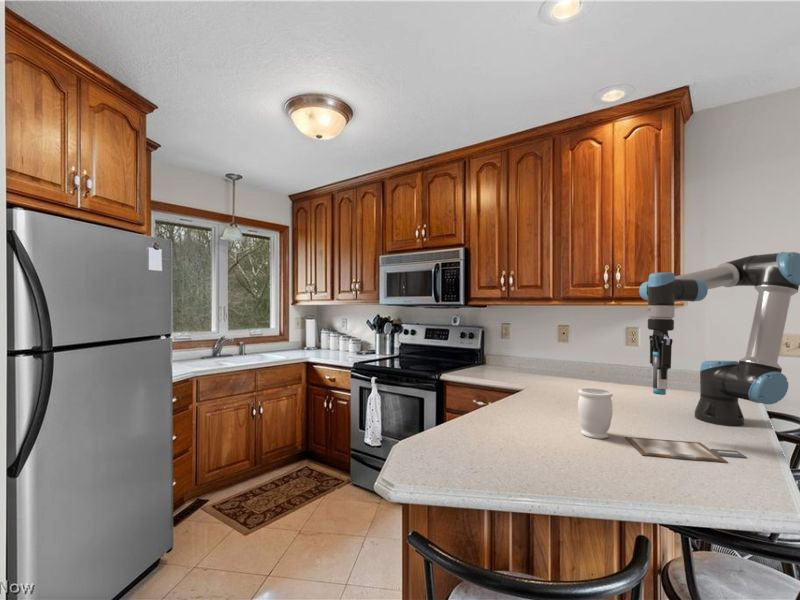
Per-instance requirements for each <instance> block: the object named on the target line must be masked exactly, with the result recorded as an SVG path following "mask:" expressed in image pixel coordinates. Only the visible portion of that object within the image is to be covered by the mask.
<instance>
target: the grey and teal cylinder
mask: <svg viewBox="0 0 800 600" xmlns="http://www.w3.org/2000/svg"><path fill="white" fill-rule="evenodd" d="M657 367H659V359H658V352H653V366H652V370H653V386H652V388H653V389H652V393H653V394H655V395H661V396H666V394H667V391H666V390H667V389H658V388H657V379H658V369H657Z"/></svg>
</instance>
